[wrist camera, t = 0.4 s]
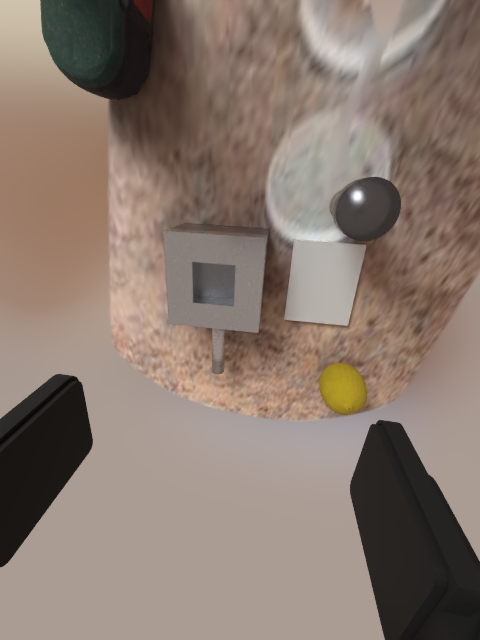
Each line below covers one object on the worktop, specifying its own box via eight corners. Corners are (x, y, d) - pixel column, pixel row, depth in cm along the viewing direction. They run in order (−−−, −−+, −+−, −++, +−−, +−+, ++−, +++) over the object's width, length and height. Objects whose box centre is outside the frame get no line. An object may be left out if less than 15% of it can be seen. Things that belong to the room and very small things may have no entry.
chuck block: (184, 223, 34) (163, 230, 28) (269, 228, 33) (266, 238, 27) (188, 353, 41) (172, 382, 35) (257, 360, 41) (253, 392, 34)
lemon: (342, 391, 41) (356, 434, 34) (308, 375, 41) (314, 415, 33) (365, 362, 39) (385, 402, 31) (329, 345, 38) (341, 381, 31)
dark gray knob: (326, 179, 30) (343, 175, 22) (373, 181, 30) (408, 178, 22) (319, 226, 32) (332, 239, 24) (362, 229, 32) (391, 243, 24)
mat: (294, 239, 33) (294, 240, 33) (365, 244, 32) (366, 245, 32) (284, 317, 37) (284, 319, 37) (346, 323, 37) (347, 325, 36)
